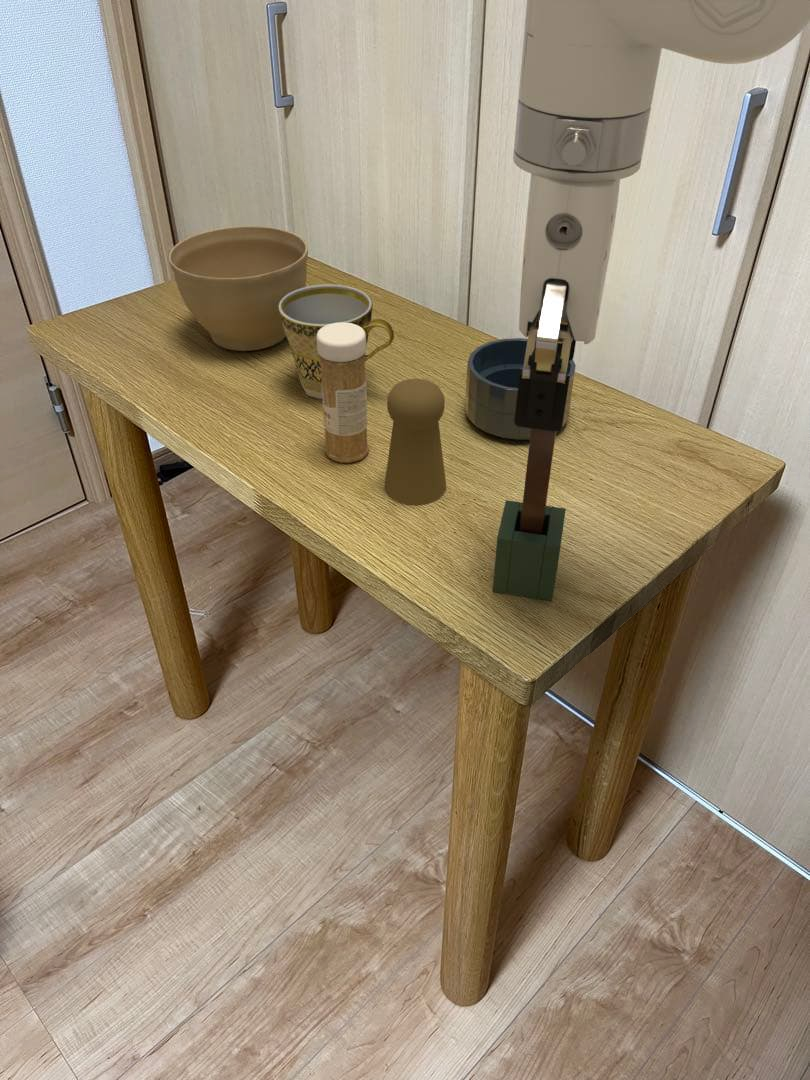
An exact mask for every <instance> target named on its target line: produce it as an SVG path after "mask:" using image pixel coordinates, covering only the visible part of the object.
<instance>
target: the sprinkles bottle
mask: <svg viewBox="0 0 810 1080" xmlns="http://www.w3.org/2000/svg"><path fill="white" fill-rule="evenodd" d="M317 350H318V353H319V357H320V364H321V378H322V399H321V401H322V415H323V427H324V435H325V438H324V439H325V445H324V452H325V454H326V456H327V457H328V458H329V459H330V460H332V461H335V462H337V463H342V464H343V463H353V462H358V461H360V460H362V459H364V458H365V457H366V456H367V455H368V453H369V450H370V447H369V444H368V399H367V398H368V397H367V396H368V394H367V377H366V361H365V355H366V353H365V352H367V346H366V334H365V331H364V330H363V329H362V328H361V327H360V326H358V325H355V324H352V323H345V322H340V323H332V324H329V325H326V326H324V327H322V328H321V329H320V330H319V331H318V333H317Z"/></svg>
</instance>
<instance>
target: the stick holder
mask: <svg viewBox="0 0 810 1080" xmlns="http://www.w3.org/2000/svg"><path fill="white" fill-rule="evenodd" d="M522 505H523V501H522V502H520V501H514V500H508V499H506V500H505V502H504V507H503V511H502V515H501V518H500V524H499V529H498V533H497V537H496V546H495V557H494V558H495V559H494V570H493V580H492V589H491V590H492V593H497V594H498V593H499V594H505V595H506V594H507V595H512V596H517V597H518V596H519V597H524V598H531V599H538V600H544V601H550V602H552V601H553V598H554V590H555V585H556V584H555V583H556V577H557V572H558V565H559V560H560V553H561V546H562V540H563V532H564V526H565V518H566V508H564V507H557V506H551V505H546V510H545V518H544V525H543V532H542V535H540V534H533V533H526V532H519V531H520V522H521V514H522Z"/></svg>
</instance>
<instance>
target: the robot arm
mask: <svg viewBox="0 0 810 1080" xmlns="http://www.w3.org/2000/svg"><path fill="white" fill-rule="evenodd" d="M809 23H810V0H526V8H525V20H524V32H523V44H522V56H521V63H520V64H521V65H520V75H519V77H520V78H519V88H518V98H517V108H516V109H517V110H516V121H515V132H514V133H515V134H514V142H513V143H514V145H513V155H512V159H513V163H514V164H515V165H516V167H518V168H519V169H521V170H522V171H524V172H526V173H528V174H530V180H529V181H530V182H529V191H528V199H527V200H528V201H527V209H526V210H527V211H526V220H525V221H526V222H525V230H524V231H525V232H524V241H523V254H522V266H521V281H520V283H521V284H520V296H519V322H518V331H520V333H521V334H522V335H523V336H524V337H525V338H527V339H528V340H527V347H526V353H525V360H524V366H523V370H520V374H519V383H518V392H517V401H516V410H515V419H514V423H515V425H516V426H518V427H524V428H532V429H539V430H547V431H554V432H556V433H558V432H560V431H561V430H562V428H563V427H562V425H563V418H564V412H565V405H566V399H567V392H568V386H569V379H570V376H566V373H567V366H568V361H571V360H572V359H573V360H574V357H575V352H576V351H575V350H576V344H577V342H582V343H583V342H584V343H583V344H584V345H589V344H590V343H592V342H593V341H594V340H595V339H596V335H597V328H598V322H599V317H600V311H601V305H602V300H603V294H604V290H605V289H604V288H605V282H606V276H607V272H608V271H607V270H608V265H609V259H610V253H611V248H612V242H613V236H614V231H615V224H616V218H617V210H618V203H619V196H620V195H619V194H620V185H621V180H622V179H626V178H630V177H631V176H633V175H634V174H635V173H638V172H639V170H640V169H641V165H642V158H643V154H644V148H645V143H646V138H647V132H648V126H649V121H650V117H651V109H652V104H653V99H654V94H655V93H654V92H655V89H656V88H655V87H656V82H657V77H658V71H659V65H660V60H661V55H662V49H664V50H668V51H671V52H673V53H677V54H681V55H682V56H687V57H690V58H694V59H697V60H700V61H705V62H709V63H715V64H723V65H737V64H739V65H740V64H746V63H747V64H748V63H750V62H754V61H757V60H761V59H763V58H766V57H768V56H771V55H772V54H775V52H777V51H780V50H781V49H782V48H784V47H785V46H787V45H788V44H789V43H790V42H791V41H793V40H794V39H795V38H796V37H797V36H798V35H799V34H800V33H801V32H802V31H803V30H804V29H805V27H806V26H807V25H808V24H809ZM558 369H559V371H558ZM563 426H564V425H563Z"/></svg>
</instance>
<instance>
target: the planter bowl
mask: <svg viewBox="0 0 810 1080" xmlns="http://www.w3.org/2000/svg"><path fill="white" fill-rule="evenodd" d="M308 255H309V247H308V244H307V242H306V240H305V239H304V238H303V237H302V236H300V235H299V234H297V233H294V232H292V231H290V230H286V229H283V228H278V227H273V226H262V225H240V226H228V227H222V228H221V227H220V228H215V229H211V230H207V231H203V232H199V233H197V234H196V233H195V234H194V235H191V236H189V237H186V238H184V239H182V240H181V241H180V242H178V243H176V244H175V245H174V246H173V247H172V248H171V249H170V252H169V254H168V261H169V266H170V268H171V271H172V273H173V275H174V279H175V282H176V287H177V289H178V291H179V295H180V297H181V299H182V300H183V302H184V304H185V306H186V307H187V309H188V311H189V312H190V314H191V315H192V316H193V318H194V319H195V320H196V321H197V322H198V324H200V326H202V328H204V329H205V330H206V331H207V332H208V333H209V335H210V339H211V340H212V342H213V343H215V345H217V346H219V347H221V348H223V349H226V350H230V351H237V352H249V351H258V350H263V349H267V348H270V347H273V346H275V345H277V344H279V343H280V342H282V341H283V340H284V339H285V338H287V336H286V334H285V331H284V327H283V324H282V320H281V316H280V312H279V303H280V301H281V300H282V298H283V297H285V296H286V295H287V294H289V293H290V292H292V291H295V290H297V289H300V288H303V287H306V285H307V276H308V275H307V274H308V270H307V269H308V265H307V264H308V263H307V261H308V257H309V256H308Z"/></svg>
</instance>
